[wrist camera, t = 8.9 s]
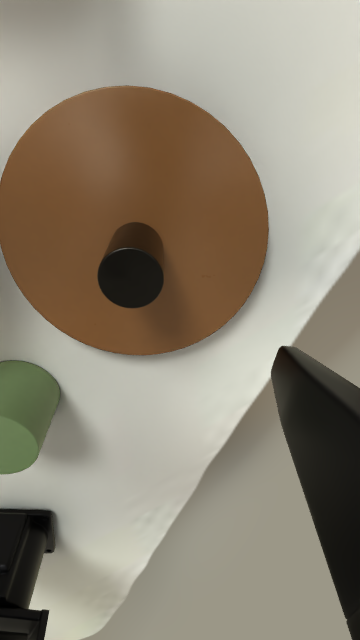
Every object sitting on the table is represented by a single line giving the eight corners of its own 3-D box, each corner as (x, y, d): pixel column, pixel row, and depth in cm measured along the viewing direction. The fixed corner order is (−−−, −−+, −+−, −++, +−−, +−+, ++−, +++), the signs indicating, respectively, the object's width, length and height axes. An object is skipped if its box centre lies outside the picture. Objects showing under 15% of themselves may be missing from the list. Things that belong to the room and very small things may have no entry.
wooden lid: (232, 353, 21) (251, 411, 17) (20, 335, 20) (-21, 394, 15) (296, 116, 15) (355, 109, 10) (-14, 61, 13) (-102, 26, 9)
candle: (61, 418, 23) (41, 476, 19) (-12, 414, 23) (-48, 473, 19) (58, 363, 21) (35, 416, 17) (-25, 357, 20) (-69, 410, 16)
